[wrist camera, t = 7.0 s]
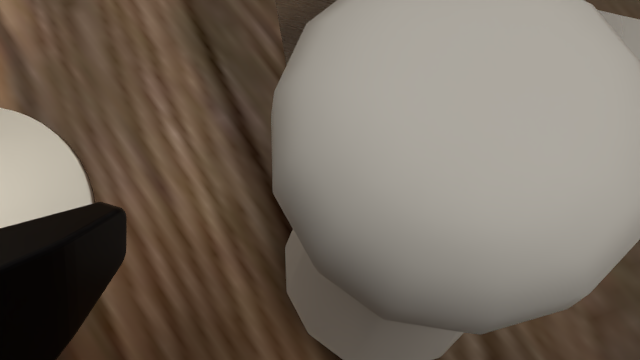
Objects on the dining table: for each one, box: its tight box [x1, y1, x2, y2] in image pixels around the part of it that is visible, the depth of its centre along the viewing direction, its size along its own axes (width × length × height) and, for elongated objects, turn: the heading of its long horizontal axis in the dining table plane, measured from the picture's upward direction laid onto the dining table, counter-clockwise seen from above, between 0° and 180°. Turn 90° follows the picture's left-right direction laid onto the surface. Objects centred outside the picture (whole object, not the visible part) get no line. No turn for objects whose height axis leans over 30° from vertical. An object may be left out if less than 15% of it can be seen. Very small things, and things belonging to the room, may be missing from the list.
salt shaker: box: [271, 0, 640, 360], centre depth 11 cm, size 6×6×13 cm
